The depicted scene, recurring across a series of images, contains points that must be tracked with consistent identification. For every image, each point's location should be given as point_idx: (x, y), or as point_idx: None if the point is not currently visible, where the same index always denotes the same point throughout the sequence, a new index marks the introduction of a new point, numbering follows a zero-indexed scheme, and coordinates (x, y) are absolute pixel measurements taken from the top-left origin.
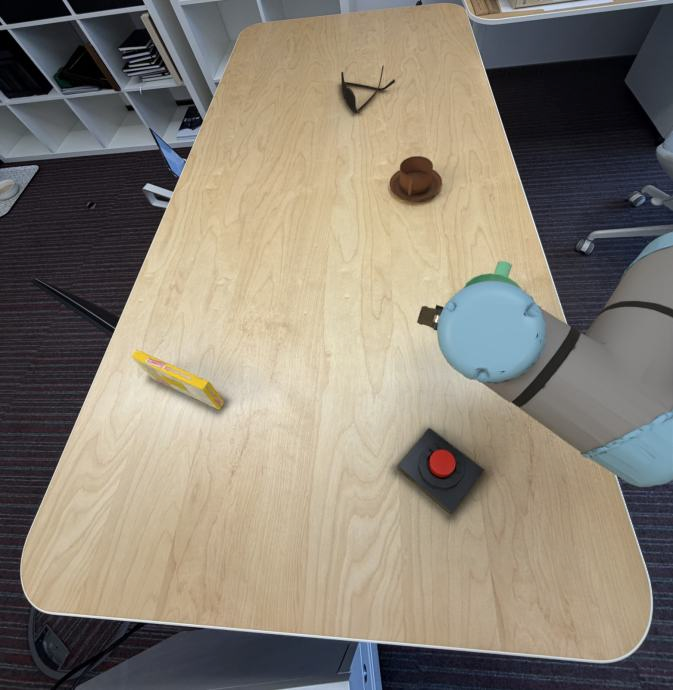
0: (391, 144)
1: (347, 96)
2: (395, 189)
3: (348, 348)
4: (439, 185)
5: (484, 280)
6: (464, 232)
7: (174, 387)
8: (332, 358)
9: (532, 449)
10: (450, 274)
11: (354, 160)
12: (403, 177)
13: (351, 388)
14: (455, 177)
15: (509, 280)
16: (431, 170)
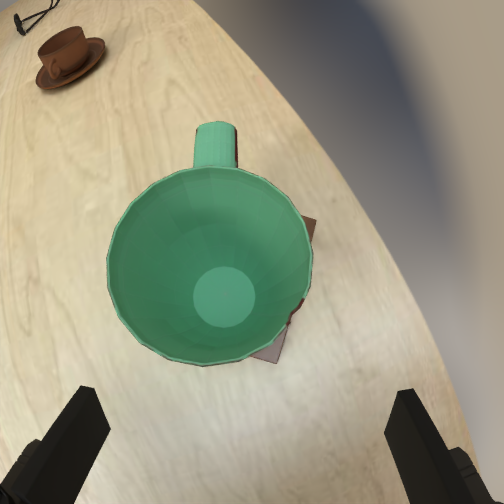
0: None
1: (17, 27)
2: (45, 81)
3: (12, 410)
4: (102, 49)
5: (172, 194)
6: (147, 94)
7: None
8: (3, 432)
9: (382, 497)
10: (131, 179)
11: (10, 75)
12: (43, 61)
13: None
14: (128, 35)
15: (240, 174)
16: (78, 34)
